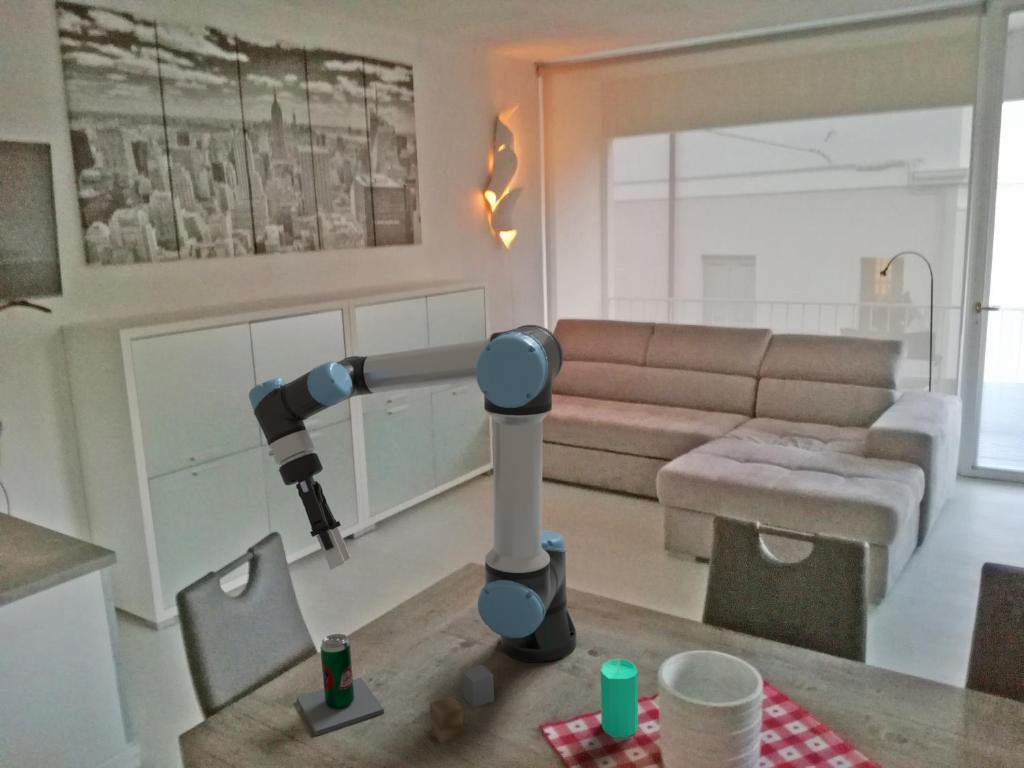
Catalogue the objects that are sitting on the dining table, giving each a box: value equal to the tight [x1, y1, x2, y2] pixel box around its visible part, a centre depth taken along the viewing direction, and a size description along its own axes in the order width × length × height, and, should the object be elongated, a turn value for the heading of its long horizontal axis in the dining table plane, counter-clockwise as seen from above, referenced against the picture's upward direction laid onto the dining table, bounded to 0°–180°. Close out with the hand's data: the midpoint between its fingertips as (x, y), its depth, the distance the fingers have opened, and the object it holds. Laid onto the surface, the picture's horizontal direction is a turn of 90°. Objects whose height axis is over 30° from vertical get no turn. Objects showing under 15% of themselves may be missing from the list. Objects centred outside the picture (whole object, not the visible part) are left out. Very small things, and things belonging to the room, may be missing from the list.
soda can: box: [320, 633, 354, 709], centre depth 144 cm, size 5×5×12 cm
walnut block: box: [429, 695, 464, 744], centre depth 136 cm, size 4×4×5 cm
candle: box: [600, 659, 639, 738], centre depth 135 cm, size 6×6×12 cm
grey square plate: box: [296, 676, 385, 736], centre depth 145 cm, size 12×12×1 cm
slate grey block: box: [462, 664, 495, 709], centre depth 146 cm, size 4×4×5 cm
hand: (341, 563), depth 153 cm, fingers open, 13 cm apart
